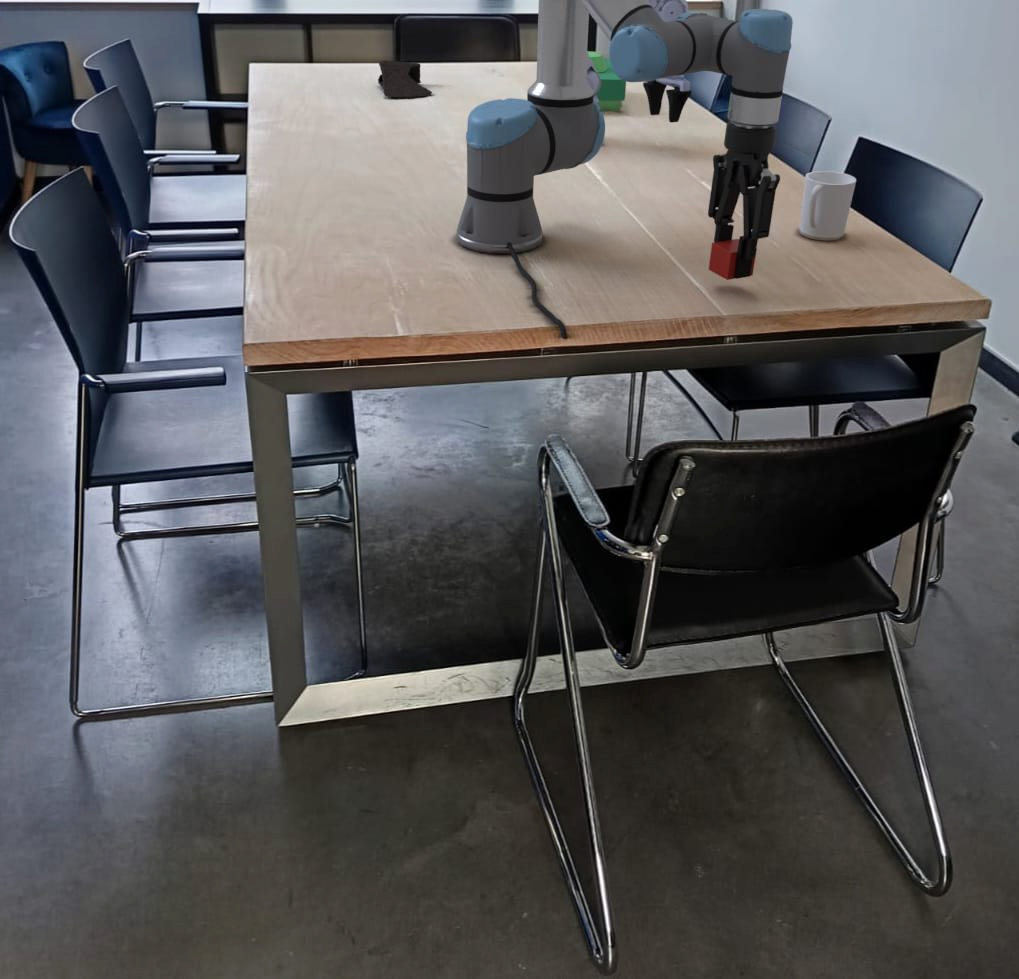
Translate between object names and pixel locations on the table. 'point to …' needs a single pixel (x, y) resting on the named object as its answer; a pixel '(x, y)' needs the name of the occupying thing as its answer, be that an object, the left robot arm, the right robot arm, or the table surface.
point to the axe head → (401, 79)
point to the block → (725, 258)
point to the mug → (826, 204)
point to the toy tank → (608, 84)
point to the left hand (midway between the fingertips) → (730, 270)
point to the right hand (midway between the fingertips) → (664, 118)
